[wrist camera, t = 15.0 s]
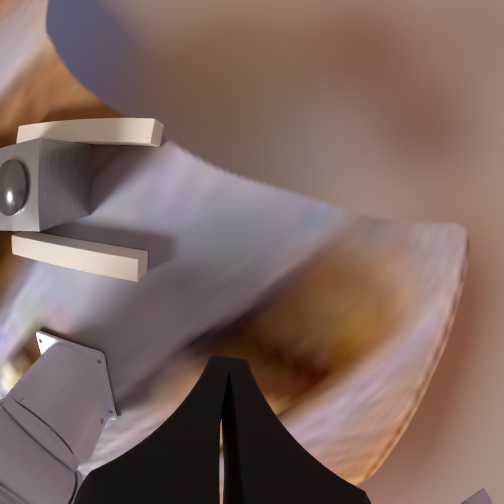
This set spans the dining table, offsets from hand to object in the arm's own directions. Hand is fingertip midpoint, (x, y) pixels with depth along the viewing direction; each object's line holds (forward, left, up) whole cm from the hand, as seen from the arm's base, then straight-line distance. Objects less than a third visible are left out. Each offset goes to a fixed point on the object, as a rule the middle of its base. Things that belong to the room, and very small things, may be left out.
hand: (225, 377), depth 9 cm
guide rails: (+5, +12, -9) cm, 16 cm away
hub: (+6, +14, -10) cm, 18 cm away
